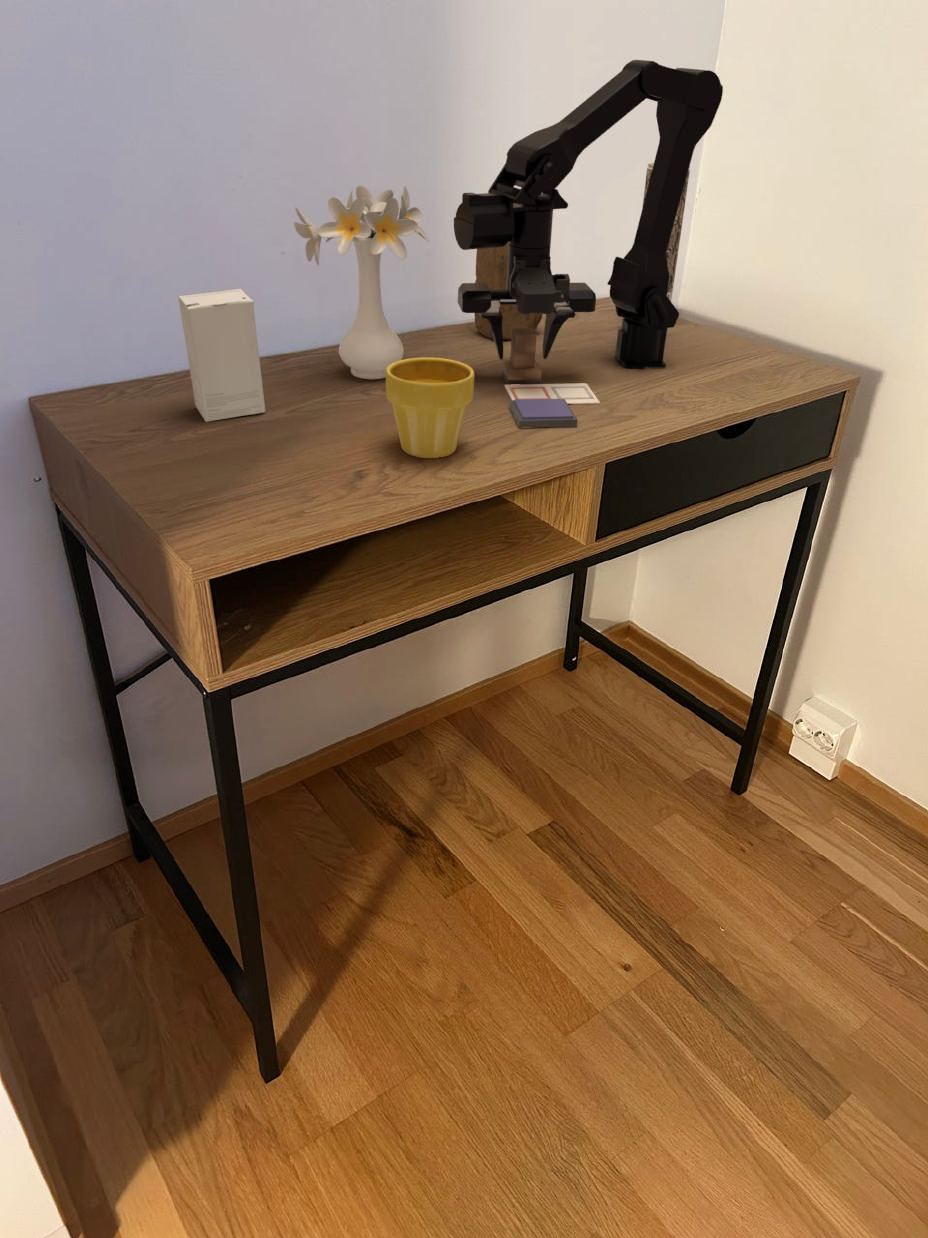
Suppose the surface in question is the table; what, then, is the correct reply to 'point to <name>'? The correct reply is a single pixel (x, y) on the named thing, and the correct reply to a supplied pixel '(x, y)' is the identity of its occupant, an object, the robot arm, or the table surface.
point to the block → (495, 276)
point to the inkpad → (542, 413)
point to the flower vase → (367, 270)
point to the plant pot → (429, 403)
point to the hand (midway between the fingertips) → (522, 358)
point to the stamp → (522, 359)
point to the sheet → (554, 392)
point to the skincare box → (223, 353)
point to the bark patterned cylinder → (676, 231)
